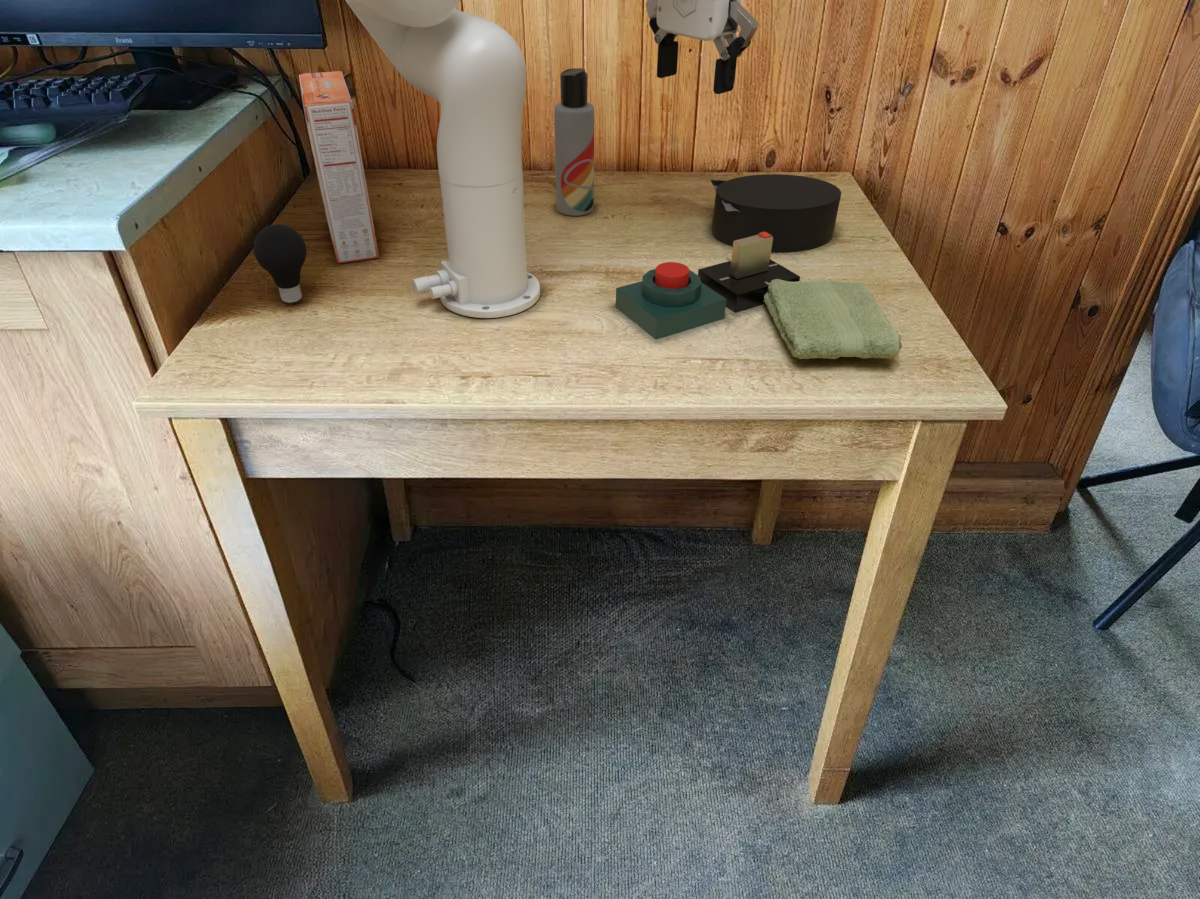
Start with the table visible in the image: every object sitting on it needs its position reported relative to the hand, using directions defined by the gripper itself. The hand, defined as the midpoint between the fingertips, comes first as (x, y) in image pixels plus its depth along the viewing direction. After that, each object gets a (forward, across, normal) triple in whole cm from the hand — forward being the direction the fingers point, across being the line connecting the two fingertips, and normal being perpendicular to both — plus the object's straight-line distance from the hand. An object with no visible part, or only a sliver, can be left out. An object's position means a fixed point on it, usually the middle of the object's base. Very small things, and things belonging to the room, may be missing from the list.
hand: (694, 83), depth 107 cm
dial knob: (+18, +17, -6) cm, 25 cm away
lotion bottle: (+21, -18, -5) cm, 28 cm away
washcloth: (+20, +30, -8) cm, 37 cm away
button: (+17, +14, -18) cm, 28 cm away
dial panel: (+21, +17, -6) cm, 27 cm away
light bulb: (+21, -18, -51) cm, 58 cm away
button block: (+21, +14, -18) cm, 31 cm away
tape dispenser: (+21, +7, +11) cm, 25 cm away
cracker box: (+21, -30, -36) cm, 51 cm away
